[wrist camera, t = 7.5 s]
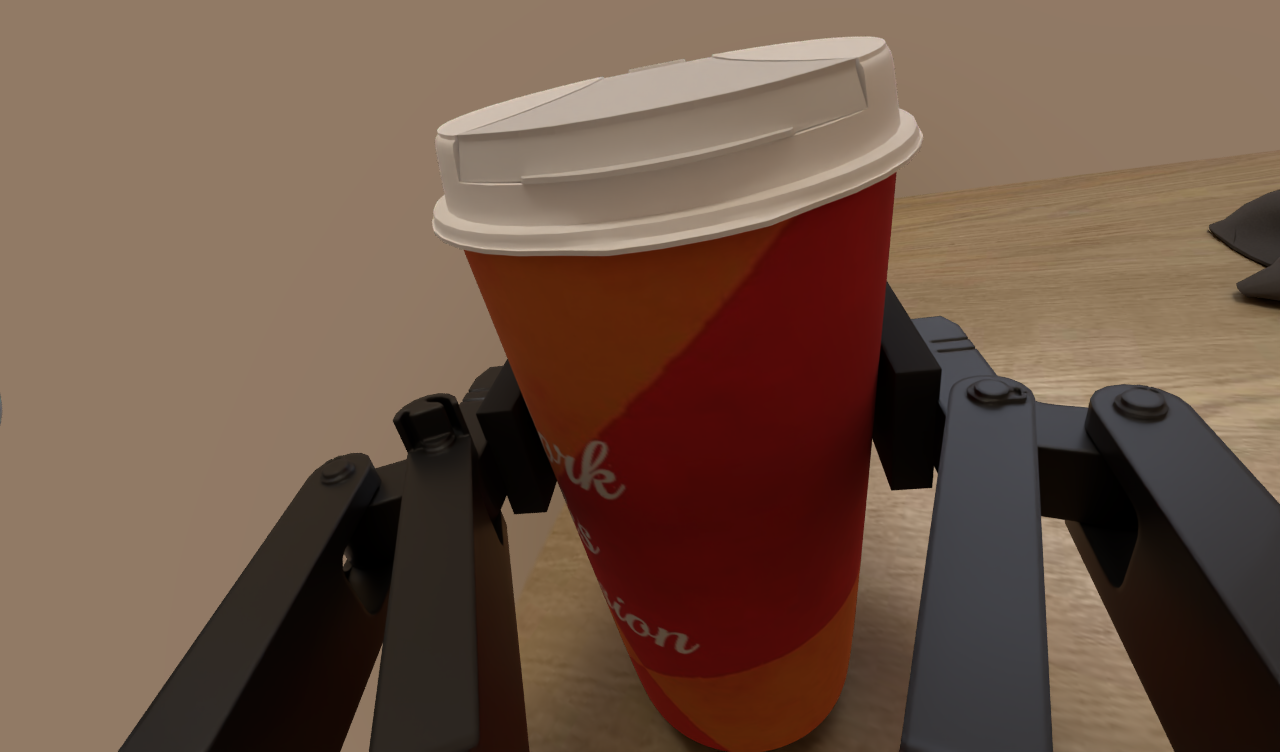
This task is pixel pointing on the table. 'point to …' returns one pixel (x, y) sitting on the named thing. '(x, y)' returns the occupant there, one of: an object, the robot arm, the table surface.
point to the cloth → (1256, 242)
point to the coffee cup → (701, 350)
